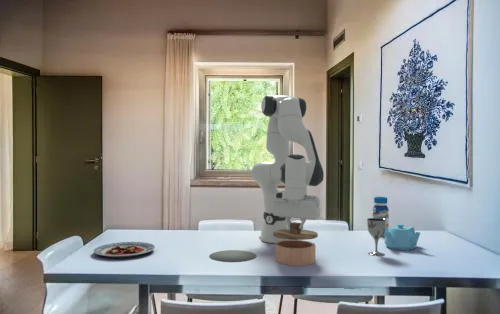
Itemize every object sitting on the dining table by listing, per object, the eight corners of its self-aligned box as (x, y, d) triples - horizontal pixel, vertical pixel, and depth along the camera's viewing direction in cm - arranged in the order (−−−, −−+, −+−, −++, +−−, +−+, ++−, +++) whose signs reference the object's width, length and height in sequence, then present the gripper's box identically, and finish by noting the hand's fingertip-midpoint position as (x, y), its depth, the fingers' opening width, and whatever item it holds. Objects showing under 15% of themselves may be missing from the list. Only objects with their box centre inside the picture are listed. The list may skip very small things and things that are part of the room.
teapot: (421, 252, 183) (421, 228, 183) (385, 250, 186) (385, 226, 186) (415, 244, 198) (415, 222, 198) (382, 243, 201) (382, 221, 201)
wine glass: (386, 252, 182) (386, 218, 182) (385, 257, 174) (386, 221, 174) (367, 251, 184) (367, 217, 184) (366, 255, 177) (366, 220, 177)
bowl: (287, 253, 180) (287, 238, 180) (321, 258, 171) (321, 243, 171) (268, 261, 167) (268, 245, 167) (303, 267, 158) (303, 250, 158)
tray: (228, 249, 188) (228, 248, 188) (265, 255, 177) (265, 254, 177) (199, 258, 172) (199, 257, 172) (238, 265, 160) (238, 264, 160)
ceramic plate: (149, 260, 169) (149, 253, 169) (85, 261, 167) (85, 254, 167) (159, 246, 195) (159, 239, 195) (103, 246, 193) (103, 240, 193)
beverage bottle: (388, 233, 225) (388, 196, 225) (389, 236, 217) (389, 198, 216) (371, 232, 227) (371, 196, 227) (372, 235, 219) (372, 197, 218)
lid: (286, 229, 181) (286, 218, 181) (324, 234, 171) (325, 222, 171) (264, 236, 166) (264, 223, 166) (305, 241, 156) (305, 228, 156)
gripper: (322, 195, 165) (322, 230, 165) (278, 192, 177) (277, 225, 177) (315, 196, 160) (315, 232, 160) (270, 193, 172) (270, 227, 172)
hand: (295, 228), depth 169 cm, fingers closed on lid, 3 cm apart
